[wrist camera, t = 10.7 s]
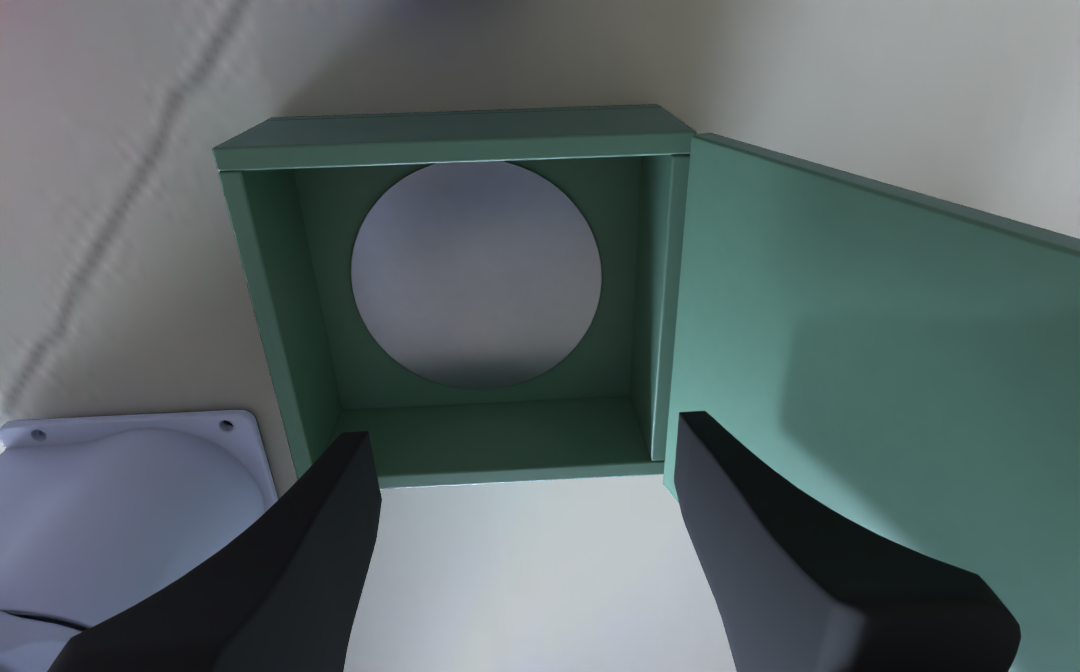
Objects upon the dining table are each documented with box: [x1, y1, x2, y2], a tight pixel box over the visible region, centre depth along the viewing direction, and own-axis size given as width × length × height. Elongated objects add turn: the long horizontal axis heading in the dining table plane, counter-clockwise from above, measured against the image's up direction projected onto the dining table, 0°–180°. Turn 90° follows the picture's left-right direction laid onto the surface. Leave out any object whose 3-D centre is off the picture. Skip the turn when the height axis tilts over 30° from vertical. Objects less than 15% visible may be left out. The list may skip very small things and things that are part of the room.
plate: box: [351, 161, 602, 390], centre depth 22 cm, size 9×9×1 cm
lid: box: [663, 133, 1080, 672], centre depth 13 cm, size 13×11×1 cm
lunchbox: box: [212, 104, 696, 489], centre depth 21 cm, size 12×11×5 cm
